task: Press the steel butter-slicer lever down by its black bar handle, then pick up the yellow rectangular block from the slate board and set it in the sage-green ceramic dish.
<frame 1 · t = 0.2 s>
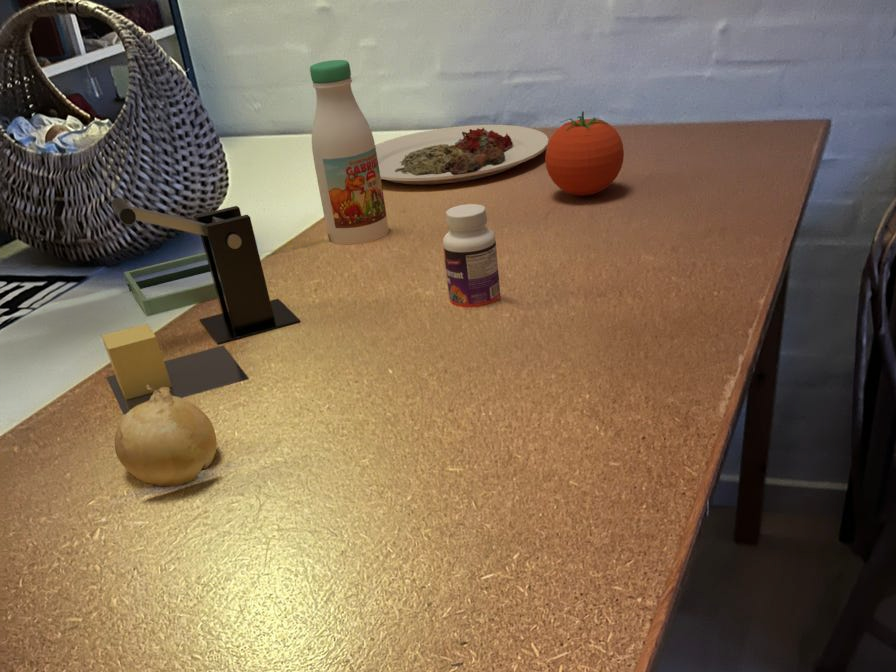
tomato: (585, 196, 131), on the table
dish: (191, 295, 115), on the table
plated food: (452, 164, 151), on the table
yellow rectangular block: (145, 386, 94), point 1 cm above the table, touching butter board
milk bottle: (360, 243, 125), on the table
onion: (177, 476, 81), on the table
slicer lever: (180, 223, 96), point 12 cm above the table, hinge at 25.0°
pill bottle: (476, 307, 104), on the table
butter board: (179, 387, 95), on the table
black lever stand: (251, 330, 105), on the table
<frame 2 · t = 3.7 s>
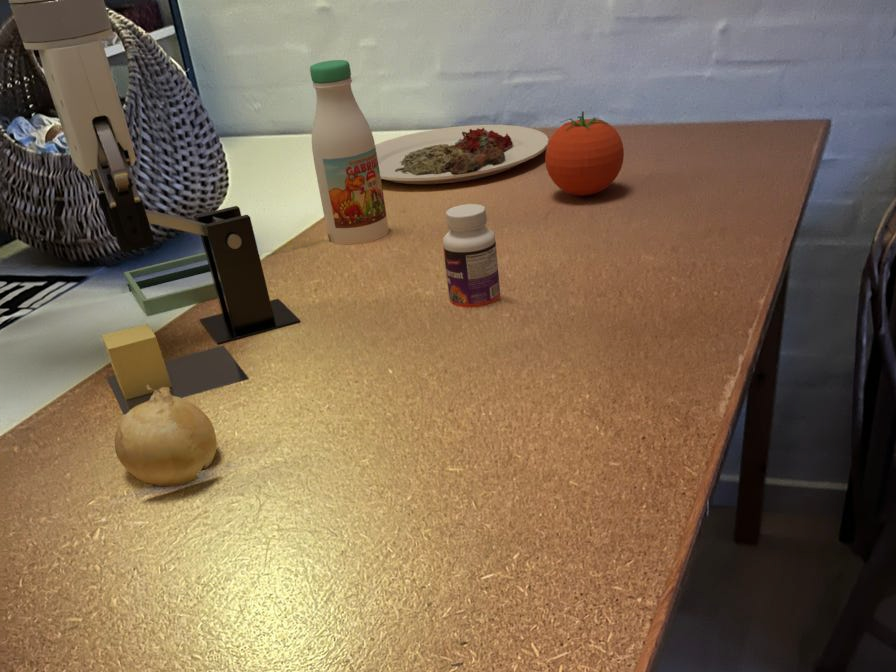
hand: (132, 238, 95), 12 cm above the table, tool pointing down, fingers closed on slicer lever, 5 cm apart
slicer lever: (180, 223, 96), point 12 cm above the table, hinge at 25.0°, touching gripper
everything else where it was.
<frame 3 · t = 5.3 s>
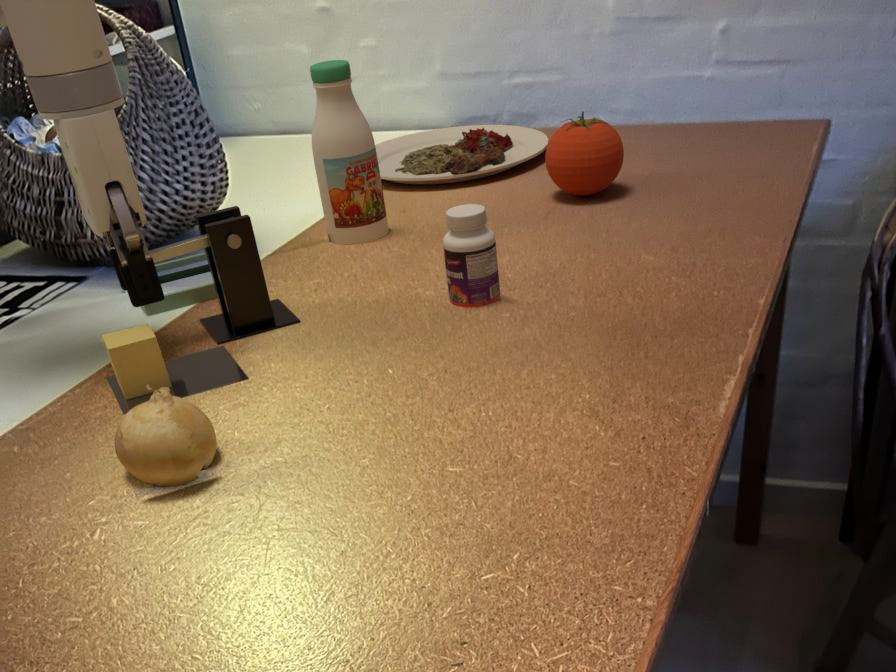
hand: (142, 293, 98), 6 cm above the table, tool pointing down, fingers closed on slicer lever, 5 cm apart
slicer lever: (182, 247, 97), point 10 cm above the table, hinge at -3.2°, touching gripper
everything else where it was.
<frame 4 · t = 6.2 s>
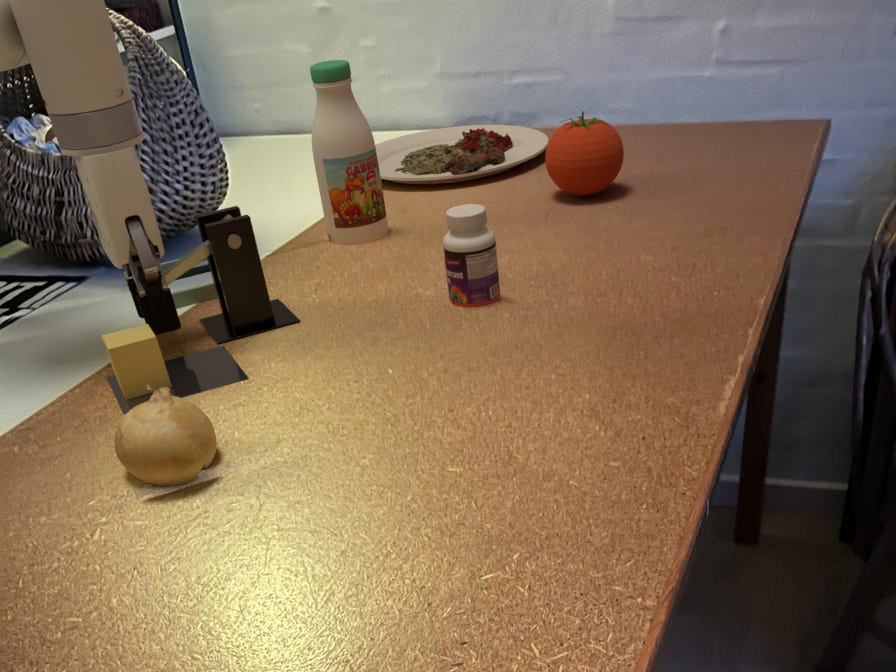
hand: (159, 321, 100), 3 cm above the table, tool pointing down, fingers closed on slicer lever, 5 cm apart
slicer lever: (189, 261, 98), point 8 cm above the table, hinge at -20.5°, touching gripper
everything else where it was.
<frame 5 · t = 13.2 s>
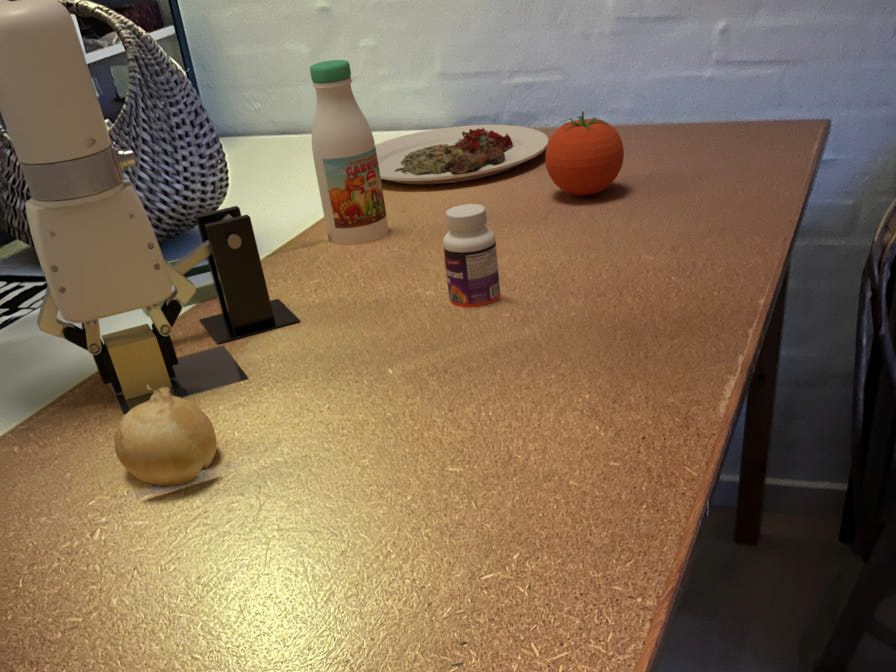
hand: (142, 378, 93), 2 cm above the table, tool pointing down, fingers closed on yellow rectangular block, 4 cm apart
yellow rectangular block: (145, 386, 94), point 1 cm above the table, touching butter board, gripper
slicer lever: (189, 261, 98), point 8 cm above the table, hinge at -20.8°
everything else where it was.
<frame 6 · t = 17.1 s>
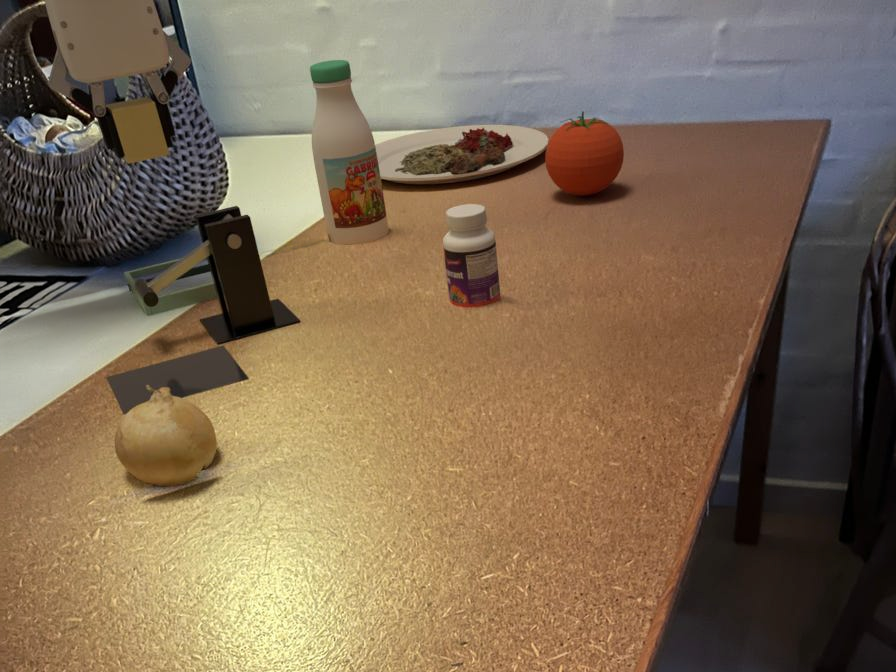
hand: (143, 148, 103), 17 cm above the table, tool pointing down, fingers closed on yellow rectangular block, 4 cm apart
yellow rectangular block: (145, 156, 104), point 16 cm above the table, touching gripper
everything else where it was.
when the fingers open (1 cm above the table, at t = 20.9 s): yellow rectangular block stays where it is, resting on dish.
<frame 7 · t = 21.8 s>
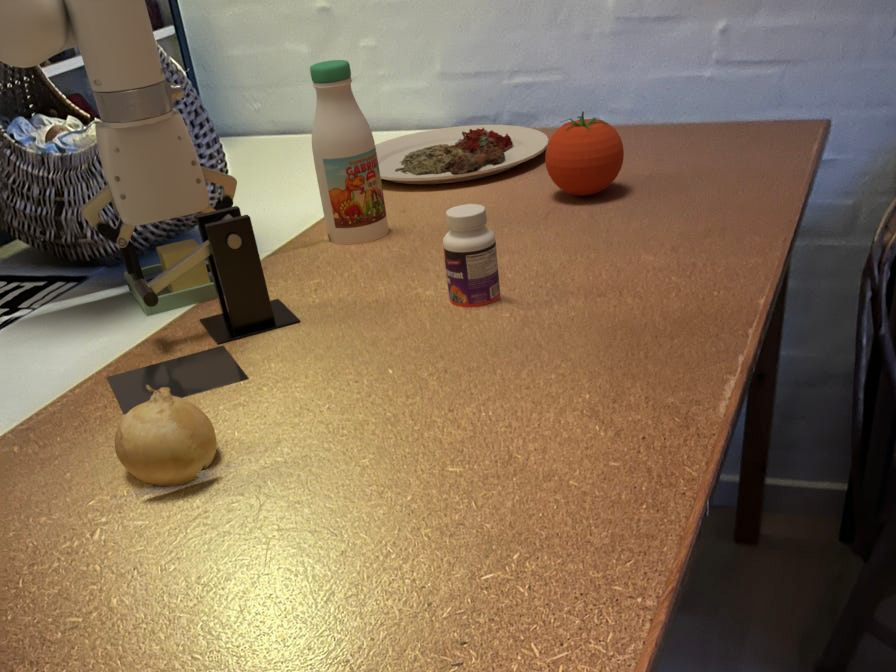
hand: (180, 269, 113), 3 cm above the table, tool pointing down, fingers open, 9 cm apart
yellow rectangular block: (190, 290, 115), point 1 cm above the table, touching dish
everything else where it was.
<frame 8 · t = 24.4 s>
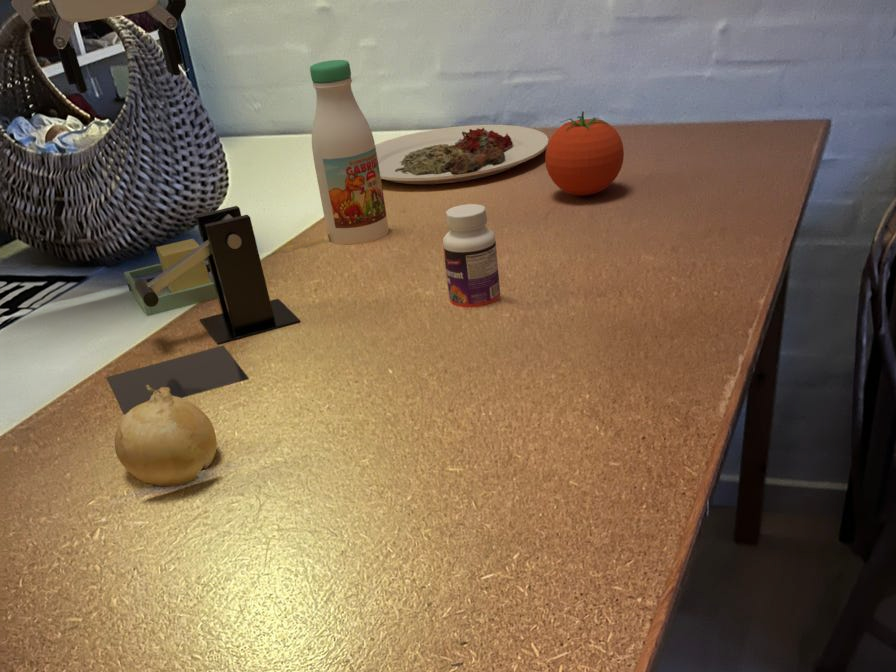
hand: (129, 82, 101), 22 cm above the table, tool pointing down, fingers open, 9 cm apart
nothing on the table moved.
at the end: slicer lever at -21° (first picture: +25°); yellow rectangular block inside the target area in the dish (0.1 cm from its centre), point 0.6 cm above the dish's base; the gripper is holding nothing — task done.
